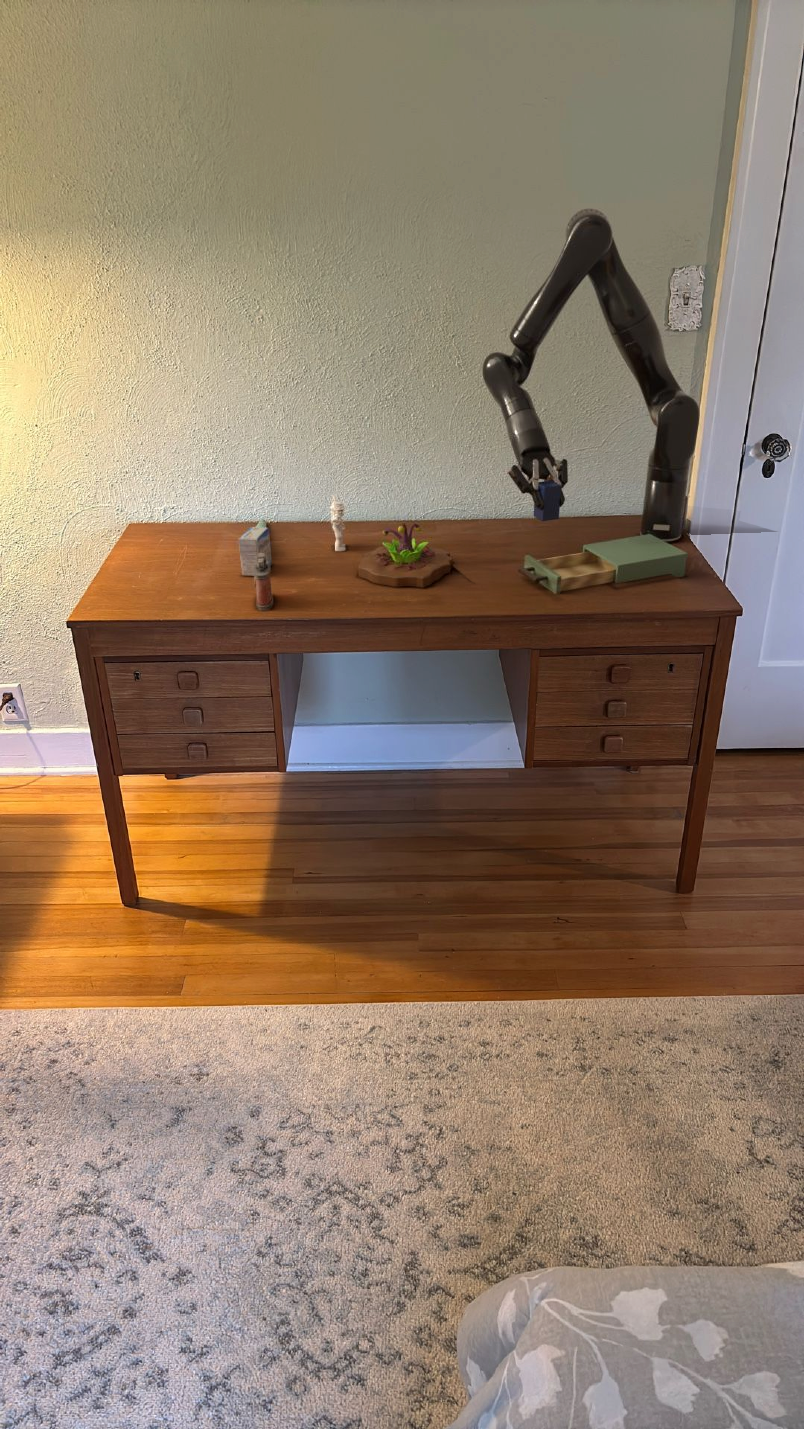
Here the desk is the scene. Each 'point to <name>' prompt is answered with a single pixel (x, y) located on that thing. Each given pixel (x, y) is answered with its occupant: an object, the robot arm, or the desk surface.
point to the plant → (405, 562)
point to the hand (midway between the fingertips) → (551, 506)
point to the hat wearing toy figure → (338, 523)
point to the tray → (568, 571)
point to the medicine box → (254, 548)
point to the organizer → (640, 557)
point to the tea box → (549, 501)
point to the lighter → (263, 583)
